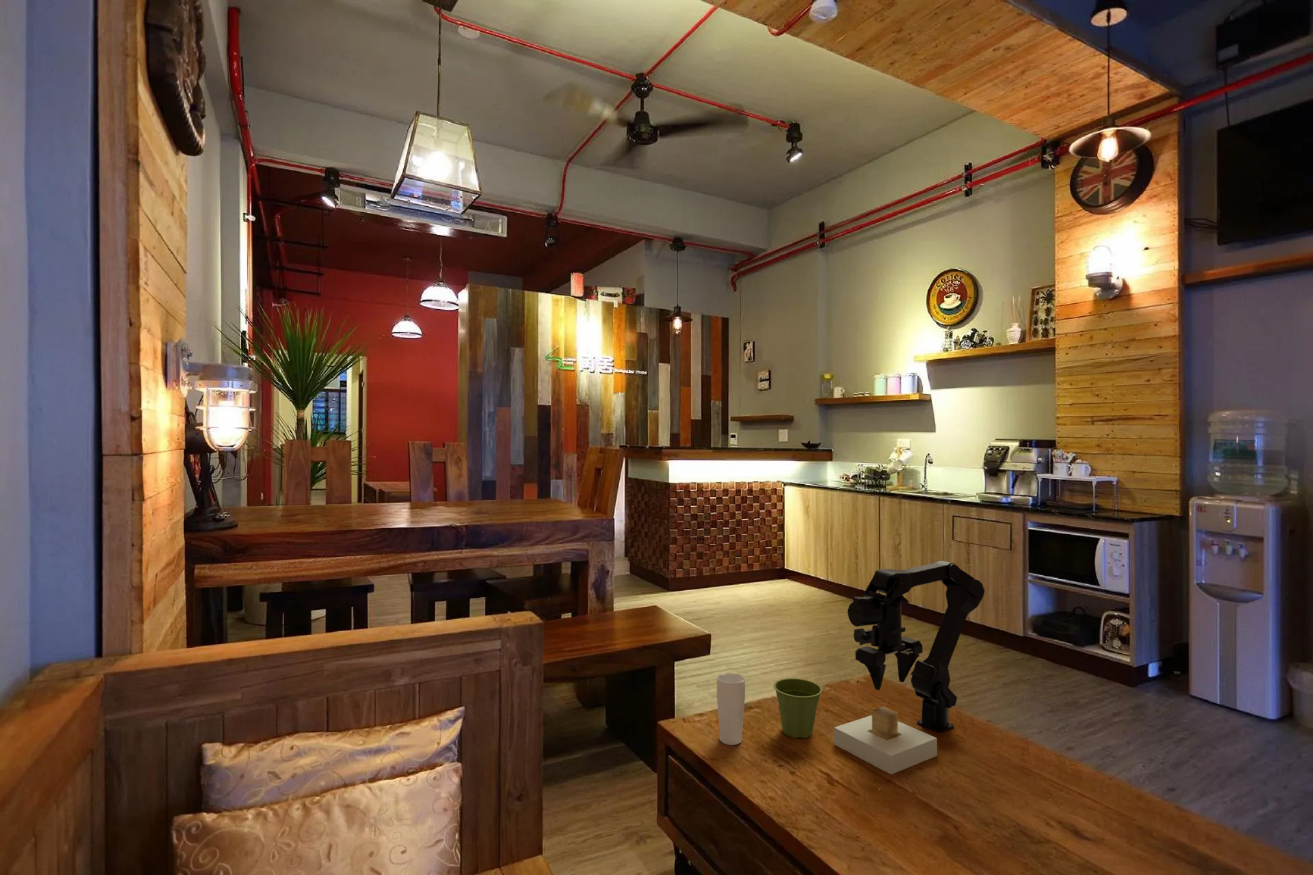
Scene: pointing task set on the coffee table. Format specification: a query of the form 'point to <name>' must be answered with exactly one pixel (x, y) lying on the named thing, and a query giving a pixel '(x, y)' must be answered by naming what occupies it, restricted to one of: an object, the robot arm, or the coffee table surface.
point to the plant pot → (797, 705)
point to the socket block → (885, 745)
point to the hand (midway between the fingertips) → (889, 685)
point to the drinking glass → (730, 707)
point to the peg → (885, 723)
